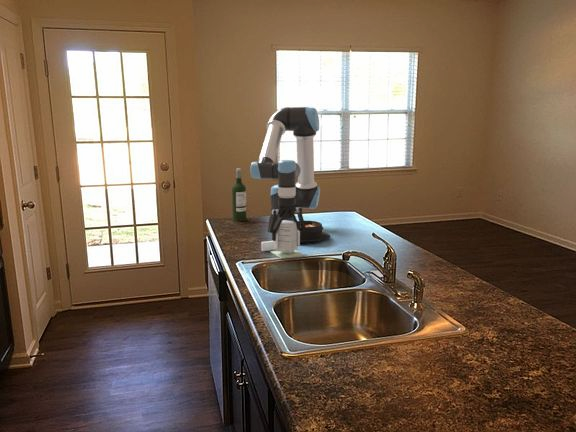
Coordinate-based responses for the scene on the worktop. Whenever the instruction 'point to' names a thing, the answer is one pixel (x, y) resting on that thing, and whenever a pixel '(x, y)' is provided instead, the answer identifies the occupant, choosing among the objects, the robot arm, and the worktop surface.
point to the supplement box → (287, 236)
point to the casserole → (313, 232)
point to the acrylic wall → (267, 246)
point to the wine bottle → (239, 198)
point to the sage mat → (286, 254)
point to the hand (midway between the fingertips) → (286, 246)
